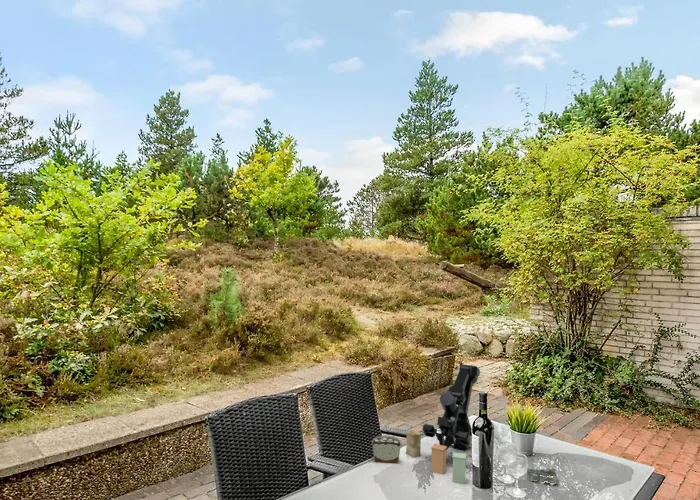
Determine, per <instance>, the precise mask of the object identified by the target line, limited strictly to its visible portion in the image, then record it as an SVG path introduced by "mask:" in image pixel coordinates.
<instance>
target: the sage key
mask: <svg viewBox="0 0 700 500" xmlns="http://www.w3.org/2000/svg"><path fill="white" fill-rule="evenodd" d="M451 458H452V482H453V483H457V484H458V483H459V484H466V461H467V453H463V452H454V451H452V457H451Z"/></svg>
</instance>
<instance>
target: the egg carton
mask: <svg viewBox="0 0 700 500" xmlns="http://www.w3.org/2000/svg"><path fill="white" fill-rule="evenodd" d="M540 475H543V476H544V477H543V476H540ZM549 475H550V476H553V478H549V477H547V476H549ZM545 476H546V477H545ZM557 479H558V475H557V471H556V468H551V467H549V468H548V467H546V469H544V468H541V469H539V468H531V467H526V480H527V481H529V482H530V481H534V480H537V481H540V482H544V481H548V482H550V483H555V482H556V483H557ZM537 481H536V482H537ZM534 482H535V481H534Z"/></svg>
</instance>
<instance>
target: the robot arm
mask: <svg viewBox="0 0 700 500" xmlns="http://www.w3.org/2000/svg"><path fill="white" fill-rule="evenodd" d="M480 372H481V371H480V368H478V366H477V365H472V364H471V365H470V364H460V365H459V370H458V374H457V377H456V379H455V380H454V384H453V385H451V386H450V387H449V388H447V389H448V390H446V391H445V393H442V394H441V395H440V396H439V402H440V404H441V407H442V409H443V411H444V412H443V415H442V416H438V417H437V424H436V426H437V427H438V428H435V426H434V425H433V424H428V423H425V424H424V425H422V430H421V431H422V432H423V434H424V436H425V437H428V438H429V437H430V438H436V439H437V441H438V445H443V446H447V449H446V452H447V450H448V449H449V448H451V449H454V450H458V451H461V452H465V451H467V450H468V449H470V448H471V446H470V445H471V436H472V435H473V432H472V431H473V430H472V426H471V423H470V419H469V416H468V412H469V405H470V400H471V395H472V390H473V386H474V384H476V383H477V382H478V379H479V377H480V374H481V373H480ZM435 436H436V437H435Z"/></svg>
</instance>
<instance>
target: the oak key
mask: <svg viewBox="0 0 700 500" xmlns="http://www.w3.org/2000/svg"><path fill="white" fill-rule="evenodd" d="M405 434H406V444H405V446H406V447H405V449H406V455H408V456H409V457H411V458H412V459H413V458H417V457H421V438H422V433H421V432H419V431H417V430H415V429H414V430H413V429H412V430H407V431H405Z"/></svg>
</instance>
